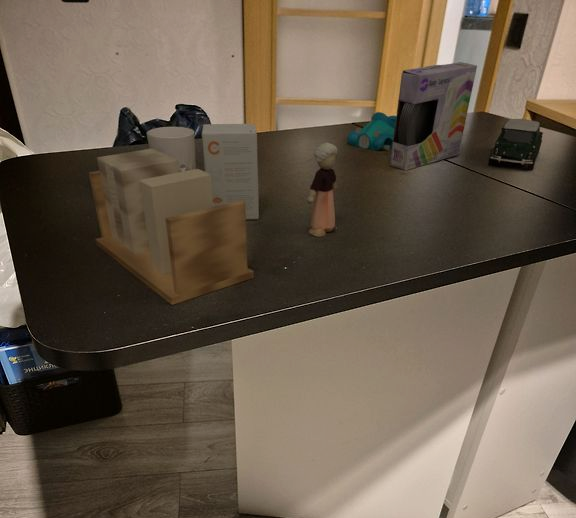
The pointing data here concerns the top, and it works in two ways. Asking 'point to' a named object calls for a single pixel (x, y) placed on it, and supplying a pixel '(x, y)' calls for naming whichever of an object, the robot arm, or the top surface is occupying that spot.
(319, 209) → the grandmother figurine
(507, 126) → the miniature car
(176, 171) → the book rack
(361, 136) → the toy car
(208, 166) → the small box
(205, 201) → the cream book
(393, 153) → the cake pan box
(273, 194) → the top surface
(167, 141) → the white cup
